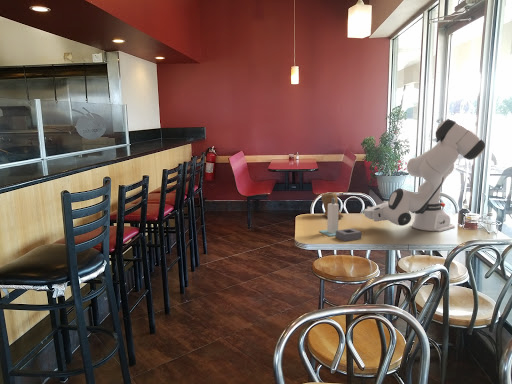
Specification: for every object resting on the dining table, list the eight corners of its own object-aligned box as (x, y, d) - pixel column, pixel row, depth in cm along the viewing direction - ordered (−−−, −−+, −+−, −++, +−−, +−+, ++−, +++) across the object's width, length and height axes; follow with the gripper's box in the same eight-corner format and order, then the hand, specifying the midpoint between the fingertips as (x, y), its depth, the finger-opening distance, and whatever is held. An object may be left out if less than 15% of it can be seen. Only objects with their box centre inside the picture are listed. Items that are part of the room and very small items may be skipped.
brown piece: (319, 214, 257) (320, 190, 255) (338, 213, 257) (339, 190, 255) (323, 219, 242) (324, 195, 240) (343, 219, 242) (344, 194, 240)
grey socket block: (352, 234, 210) (352, 228, 210) (361, 238, 203) (361, 231, 203) (335, 237, 206) (335, 230, 206) (344, 241, 199) (344, 234, 199)
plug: (333, 230, 216) (334, 197, 213) (338, 232, 213) (338, 198, 210) (327, 231, 215) (327, 198, 212) (331, 233, 211) (332, 199, 208)
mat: (335, 229, 220) (335, 228, 220) (346, 234, 211) (346, 233, 211) (319, 231, 217) (319, 230, 216) (329, 236, 208) (330, 235, 207)
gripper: (404, 199, 216) (391, 194, 229) (370, 211, 213) (358, 205, 227) (406, 210, 218) (393, 204, 231) (372, 222, 215) (360, 215, 228)
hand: (375, 205), depth 229 cm, fingers open, 8 cm apart
